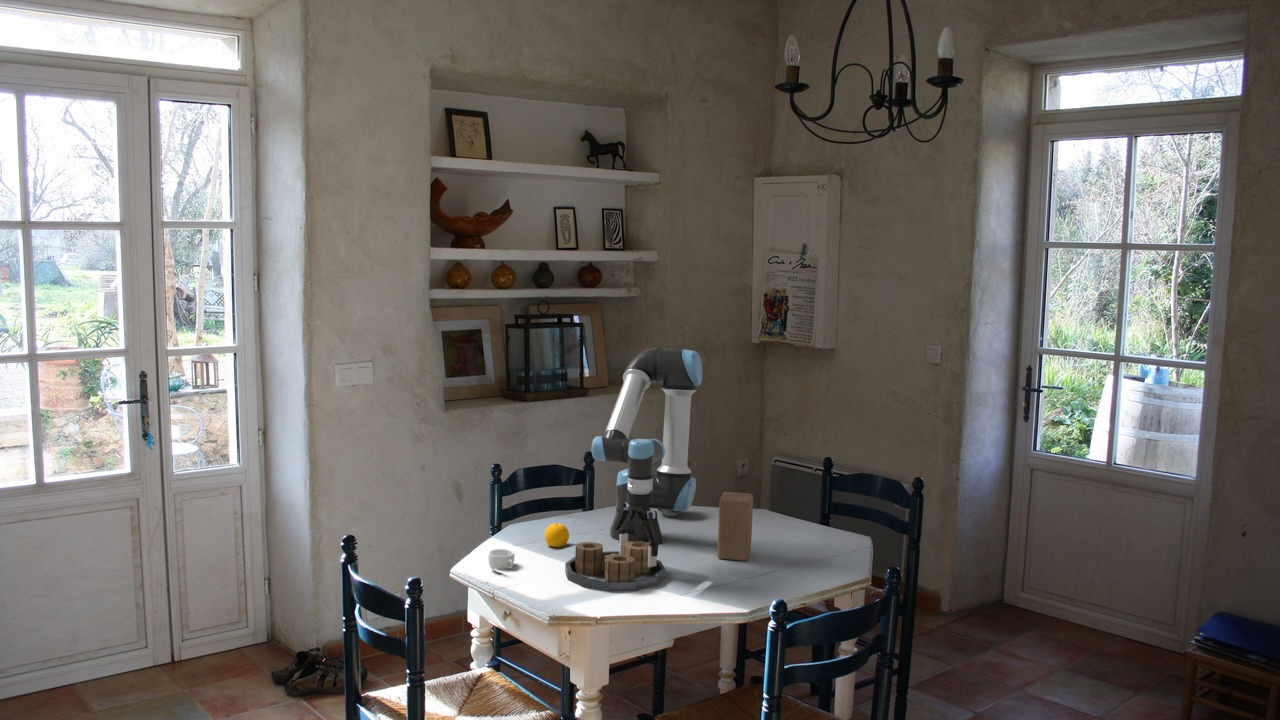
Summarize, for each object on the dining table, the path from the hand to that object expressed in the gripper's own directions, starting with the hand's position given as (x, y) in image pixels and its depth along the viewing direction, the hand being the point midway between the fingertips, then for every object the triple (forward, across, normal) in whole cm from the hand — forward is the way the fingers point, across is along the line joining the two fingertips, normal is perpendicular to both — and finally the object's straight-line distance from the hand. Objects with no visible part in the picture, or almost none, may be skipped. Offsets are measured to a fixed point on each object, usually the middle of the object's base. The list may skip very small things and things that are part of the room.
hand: (637, 560), depth 296 cm
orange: (+4, -37, -4) cm, 37 cm away
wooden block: (+4, +4, +38) cm, 38 cm away
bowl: (+4, -45, +54) cm, 70 cm away
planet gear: (+3, 0, 0) cm, 3 cm away
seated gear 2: (+3, +7, -13) cm, 15 cm away
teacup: (+4, -25, -32) cm, 40 cm away
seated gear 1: (+3, -7, -13) cm, 15 cm away
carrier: (+4, 0, -8) cm, 9 cm away
